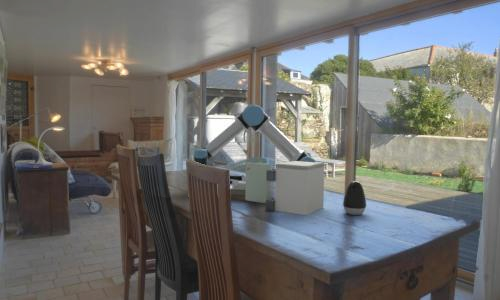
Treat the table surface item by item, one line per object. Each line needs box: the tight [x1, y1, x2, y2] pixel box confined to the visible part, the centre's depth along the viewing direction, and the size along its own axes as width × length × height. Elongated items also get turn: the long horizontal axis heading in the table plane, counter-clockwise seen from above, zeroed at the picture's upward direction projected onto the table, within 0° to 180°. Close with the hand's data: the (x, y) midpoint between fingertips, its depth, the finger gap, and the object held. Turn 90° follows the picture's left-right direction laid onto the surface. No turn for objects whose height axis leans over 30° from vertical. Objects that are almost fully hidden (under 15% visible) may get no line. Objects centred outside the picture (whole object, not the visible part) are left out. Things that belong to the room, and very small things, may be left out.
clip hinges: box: [265, 168, 276, 212], centre depth 184 cm, size 7×4×19 cm, turn 147°
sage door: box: [244, 161, 271, 204], centre depth 203 cm, size 4×13×20 cm, turn 57°
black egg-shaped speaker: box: [342, 180, 367, 216], centre depth 177 cm, size 10×10×15 cm
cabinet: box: [274, 161, 325, 216], centre depth 185 cm, size 20×16×22 cm
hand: (245, 181), depth 207 cm, fingers open, 13 cm apart
